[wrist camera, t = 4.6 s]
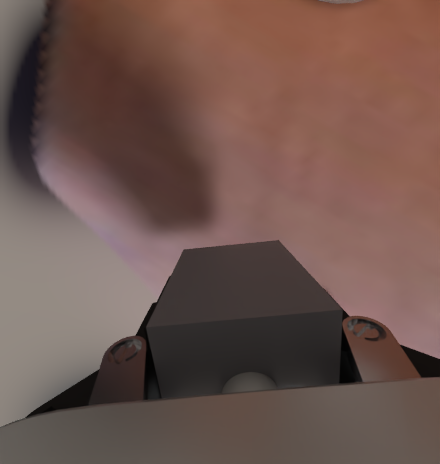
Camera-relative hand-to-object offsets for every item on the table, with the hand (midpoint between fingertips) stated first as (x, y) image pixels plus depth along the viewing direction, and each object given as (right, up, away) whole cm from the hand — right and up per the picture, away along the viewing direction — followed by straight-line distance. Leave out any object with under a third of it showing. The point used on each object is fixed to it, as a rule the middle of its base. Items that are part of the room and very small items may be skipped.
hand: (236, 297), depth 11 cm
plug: (0, 0, +1) cm, 1 cm away
